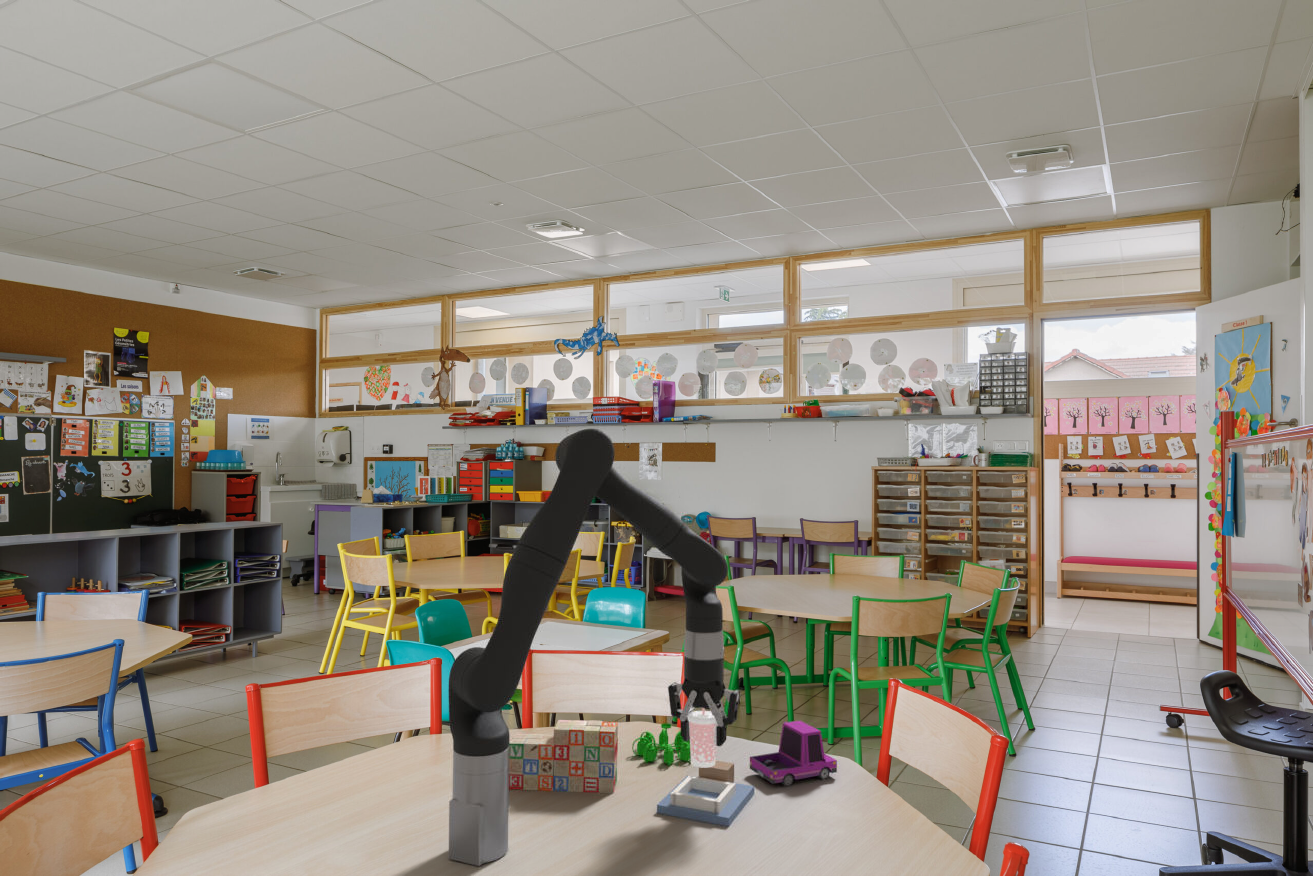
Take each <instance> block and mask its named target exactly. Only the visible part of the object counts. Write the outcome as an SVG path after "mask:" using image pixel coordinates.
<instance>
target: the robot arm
mask: <svg viewBox="0 0 1313 876" xmlns="http://www.w3.org/2000/svg"><path fill="white" fill-rule="evenodd" d="M554 455H555V456H554V459H555V465H556V466H557V469H558V470H559V473H558V476H557V477H556V478H557V479H556V480H555V484H554V485H553V487H552V490H551V492H550V493H549V495H548V497H547V498H546V500H545V501H544V503H543V505H542V506H541V507H540V508H539V509H538V511H537V512H536V514H535V515H534V517H533V518H532V519H531V521H530V522H529V524H528V525H527V527H526V528H525V529H524V531H523V533H522V534H521V536H520V537H519V539H518V541H517V544H516V547H515V548H514V551H513V553H512V555H511V557H510V559H509V561H508V564H507V567H506V570H505V572H504V576H503V583H502V589H501V590H502V592H501V601H500V609H499V615H498V619H497V622H496V625H495V626H494V627H495V628H494V629H493V632H492V633H491V635H490V638H489V640H488V642H487V644H486V646H485V647H480V646H479V647H477V646H476V647H475V646H474V647H470V648H466V649H465V650H463V651H462V652H461V653H460V654H459V655H457V657H456V658H455V659H454V661H453V663H452V665H451V668H450V671H449V677H448V721H449V723H448V724H449V725H448V726H449V729H450V733H451V736H452V740H453V741H452V743H453V745H452V746H453V747H452V796H451V797H452V799H450V800H449V805H448V806H449V807H448V811H449V813H448V860H452V861H456V862H461V863H465V864H468V865H472V866H473V865H474V866H477V867H480V866H482V865H483V864H486V863H490V862H493V861H496V860H498V859H500V858H502V857H504V856H505V855H506V853H508V850H509V813H510V812H509V811H510V810H509V805H510V804H509V803H510V802H509V800H510V799H509V798H510V797H509V795H510V789H509V742H510V730H509V729H510V728H509V727H508V725H507V723H506V721H505V719H504V717H503V712H502V708H504V707H505V706H506V705H507V704H508V703H509V702H510V701H511V700H512V698H513V697H514V694H516V693H515V692H516V691H517V689H518V686H519V683H520V681H521V678H522V675H523V672H524V668H525V665H526V662H527V661H528V660H527V659H528V656H529V653H530V649H531V647H532V643H533V641H534V639H535V635H536V633H537V631H538V629H539V627H540V625H541V622H542V620H543V618H544V615H545V614H546V610H547V607H548V606H549V603H550V601H551V599H552V596H553V594H554V592H555V591H556V588H557V586H558V584H559V582H560V580H561V577H562V574H564V573H563V572H564V570H565V568H566V565H567V564H568V560H569V558H570V555H571V553H572V551H573V548H574V545H575V543H576V541H577V539H578V537H579V534H580V531H581V529H582V525H583V523H584V520H585V518H586V515H587V513H588V510H589V508H590V507H591V504H592V502H593V501H594V499H595V497H596V498H597V499H599V501H601V502H602V503H604V504H605V505H606V506H609V508H610V509H612V510H613V511H614V512H616V513H617V514H618V515H619V516H620V517H621V518H623V520H625V521H626V522H627V523H628V524H630V525H631V527H633V528H634V529H635V530H636V531H638V533H639V534H640V535H642V536H643V537H644V538H645V539H646V540H647V541H648V542H649V543H651V545H652V546H654V547H655V548H656V549H657V550H658V551H659V552H660V553H662V554H663V555H665V556H666V557H668V558H669V559H672V560H673V561H674V562H676V564H678V565H679V566H680V572H681V573H680V574H681V583H682V589H683V595H684V596H683V597H684V600H685V634H684V642H683V643H684V644H683V645H684V646H683V647H684V648H683V650H684V651H683V653H684V654H683V683H678V682H676V681H675V682H672V683H671V684H669V685H668V687H667V691H668V700H669V708H670V715H671V716H672V717H673V718H678V719H679V721H680V731H681V737H682V738H683V741H688V740H690V733H689V721H688V717H687V715H689V713H691V712H694V709H699V708H705V710H709V711H711V713H712V715H713V716H714V717H715V719H716V722H717V724H718V726H717V727H716V747H722V746H723V745H724V743H725V742H726V741H727V726H729V725H733V724H734V722H735V721H737V720H738V713H739V704H740V697H741V692H740V690H739V689H735V690H733V689H728V688H727V687H726V686H725V683H724V676H725V674H724V673H725V672H724V671H725V669H724V667H725V666H724V665H725V662H724V660H725V656H724V655H725V643H724V642H725V641H724V632H723V631H724V630H723V626H724V625H723V621H724V620H723V619H724V618H723V616H724V615H723V613H724V612H723V611H724V610H723V604H722V602H721V600H720V599H719V598H718V596H717V595H718V594H717V588H716V587H717V586H719V585H721V584H722V583H724V581H725V580H726V579H727V576H728V573H729V567H728V562H727V559H726V558H725V556H724V555H723V554H722V553H721V552H720V551H719V550H718V549H717V548H715V546H713V545H712V544H710V543H709V542H708V541H707V540H705V539H704V538H702V537H701V536H700V535H698V534H697V533H695V531H693V530H692V529H691V528H690V527H689V526H688V525H687V524H686V523H685V522H684V521H683V520H682V519H681V518H680V517H679V516H677V514H676V513H674V512H673V511H672V510H671V509H670V508H669V507H668V506H666V505H665V504H664V503H662V502H661V501H660V500H659V499H657V498H656V497H654V496H652V495H651V494H649V493H648V492H646V491H644V490H642V489H641V488H639V487H637V486H636V485H635V484H633V483H632V482H630V481H629V480H628V479H627V478H626V477H624V476H623V475H622V474H621V473H620V472H618V470H617V469H616V468H615V467H614V466H613V464H614V462H615V455H616V453H615V446H614V442H613V441H612V439H611V437H610V436H609V435H608V434H607V433H606V432H605V431H603V430H601V429H598V428H585V429H580V430H577V431H576V432H574V433H572V434H570V435H567V436H566V437H564V438H563V439H562V440H561V441H560V442H559V443H558V445H557V447H556V449H555V453H554ZM682 691H683V694H684V695H685V697H686V698H687V699H686V702H685V704H684V707H683V708H682V704H681V694H682ZM724 696H725V698H726V701H727V703H728V708H727V715H726V712H725V707H724V705H723V703H722V701H721V700H722V698H723V697H724Z"/></svg>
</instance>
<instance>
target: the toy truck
mask: <svg viewBox="0 0 1313 876" xmlns="http://www.w3.org/2000/svg"><path fill="white" fill-rule="evenodd" d="M822 737H823V736H822V731H821V730H819V729H818V728H816V727H814V726H811V725H809V724H807V723H806V722H804V721H802V720H794V721H788V722H783V723H782V729H781V736H780V741H779V745H778V746H779V748H778V751H777V752H772V753H765V754H760V755H753V756H749V769H750V770H751V771H752V772H754V773H756V774H757V775H758V776H760V777H761V778H763V779H765V780H767V781H768V782H770V783H771V784H778V783H780V784H781V785H782V786H784V787H790V786H792V785H793V783H794V780H801V779H807V778H811V777H818V779H820V780H821V781H823V779H825V780H827V779H829V777H830V774H834V773H838V762H837V761H838V760H837V759H835V758H833V757H832V756H830V755H828V754H826V753H825V750H824V743H823V738H822Z"/></svg>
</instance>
